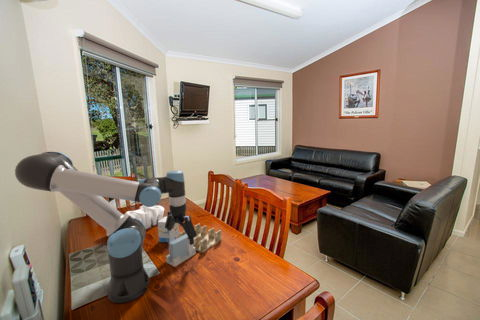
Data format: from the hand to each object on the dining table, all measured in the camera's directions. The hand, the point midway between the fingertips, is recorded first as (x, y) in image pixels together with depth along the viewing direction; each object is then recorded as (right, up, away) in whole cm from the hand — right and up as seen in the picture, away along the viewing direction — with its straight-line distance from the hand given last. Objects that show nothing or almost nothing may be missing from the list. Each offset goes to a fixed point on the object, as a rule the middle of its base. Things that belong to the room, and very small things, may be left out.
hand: (181, 246), depth 110 cm
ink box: (-12, -4, +20) cm, 24 cm away
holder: (0, -6, +1) cm, 6 cm away
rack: (+7, -4, +15) cm, 17 cm away
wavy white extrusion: (-36, -2, +37) cm, 52 cm away
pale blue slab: (0, -5, +1) cm, 5 cm away
